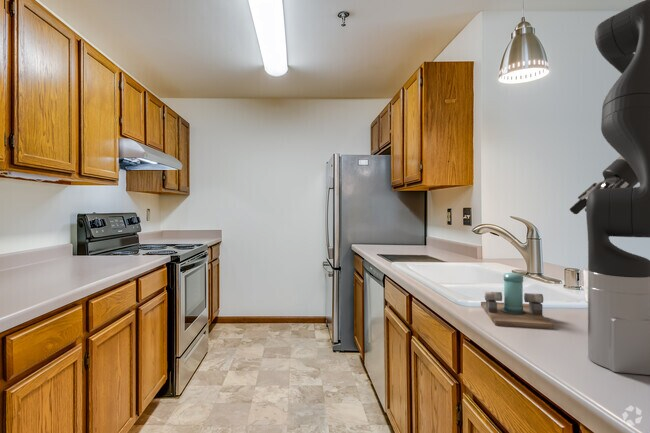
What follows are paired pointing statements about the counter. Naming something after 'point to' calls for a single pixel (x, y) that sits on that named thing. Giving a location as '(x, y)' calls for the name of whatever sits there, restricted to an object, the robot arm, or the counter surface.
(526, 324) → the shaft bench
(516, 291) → the cylinder
